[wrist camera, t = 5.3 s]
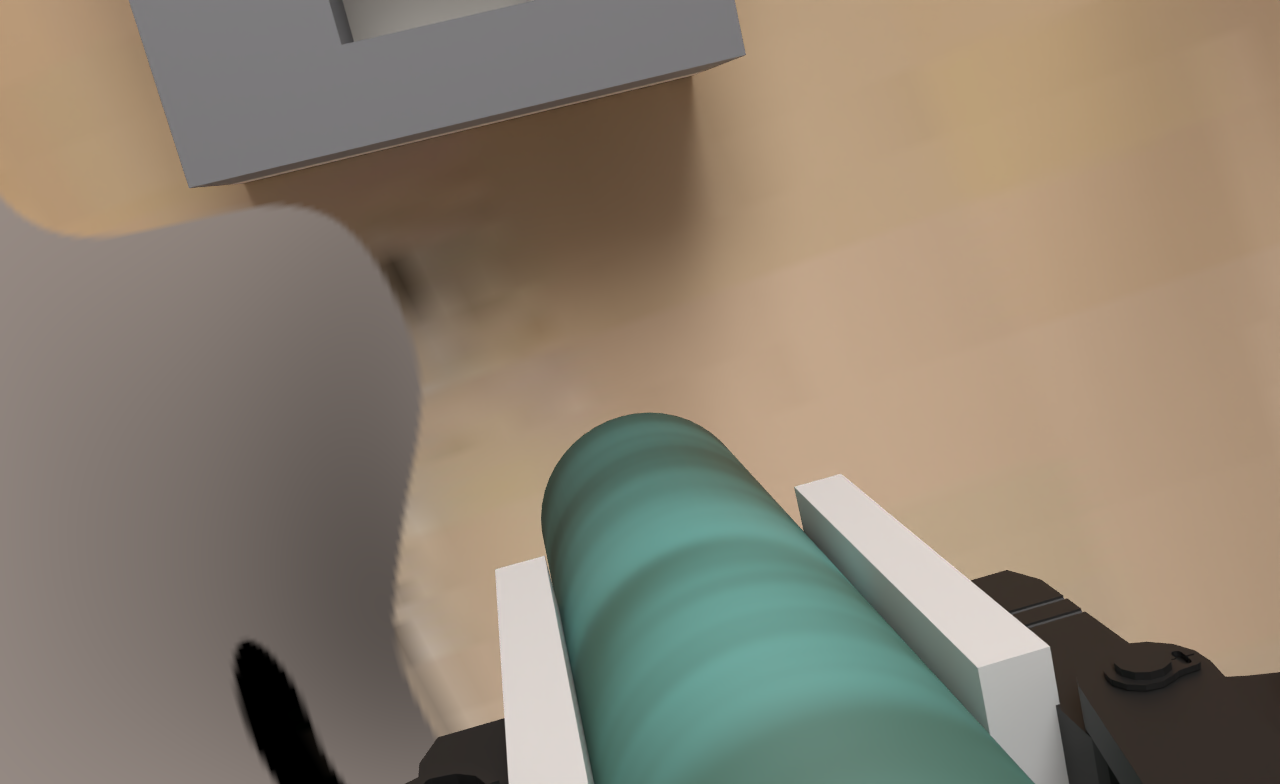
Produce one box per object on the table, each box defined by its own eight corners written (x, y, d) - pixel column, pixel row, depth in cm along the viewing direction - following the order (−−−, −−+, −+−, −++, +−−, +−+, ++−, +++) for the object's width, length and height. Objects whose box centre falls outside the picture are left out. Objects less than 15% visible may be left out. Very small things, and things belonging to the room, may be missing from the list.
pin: (768, 582, 23) (1312, 1338, 8) (570, 639, 22) (762, 1538, 8) (723, 388, 22) (1243, 840, 7) (517, 444, 21) (619, 1040, 7)
